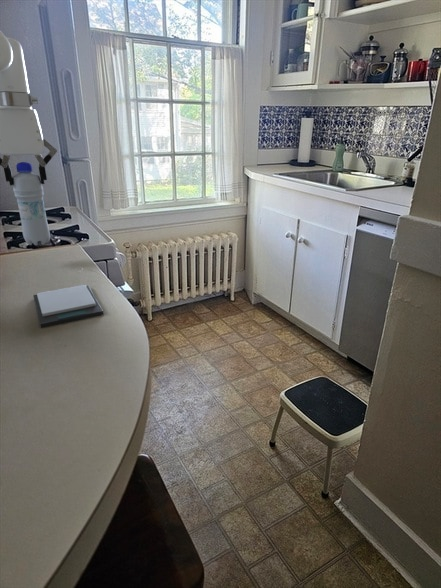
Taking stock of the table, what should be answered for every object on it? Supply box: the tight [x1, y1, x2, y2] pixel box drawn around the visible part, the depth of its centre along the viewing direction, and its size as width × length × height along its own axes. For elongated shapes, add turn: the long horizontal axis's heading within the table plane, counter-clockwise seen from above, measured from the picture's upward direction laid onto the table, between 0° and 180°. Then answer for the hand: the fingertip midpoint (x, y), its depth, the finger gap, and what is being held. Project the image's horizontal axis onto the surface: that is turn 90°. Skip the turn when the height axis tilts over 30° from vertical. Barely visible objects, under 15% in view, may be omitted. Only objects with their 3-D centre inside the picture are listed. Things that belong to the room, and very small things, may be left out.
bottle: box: [12, 161, 51, 246], centre depth 97 cm, size 7×7×20 cm
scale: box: [33, 284, 105, 329], centre depth 77 cm, size 14×11×3 cm
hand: (27, 183), depth 95 cm, fingers closed on bottle, 6 cm apart
